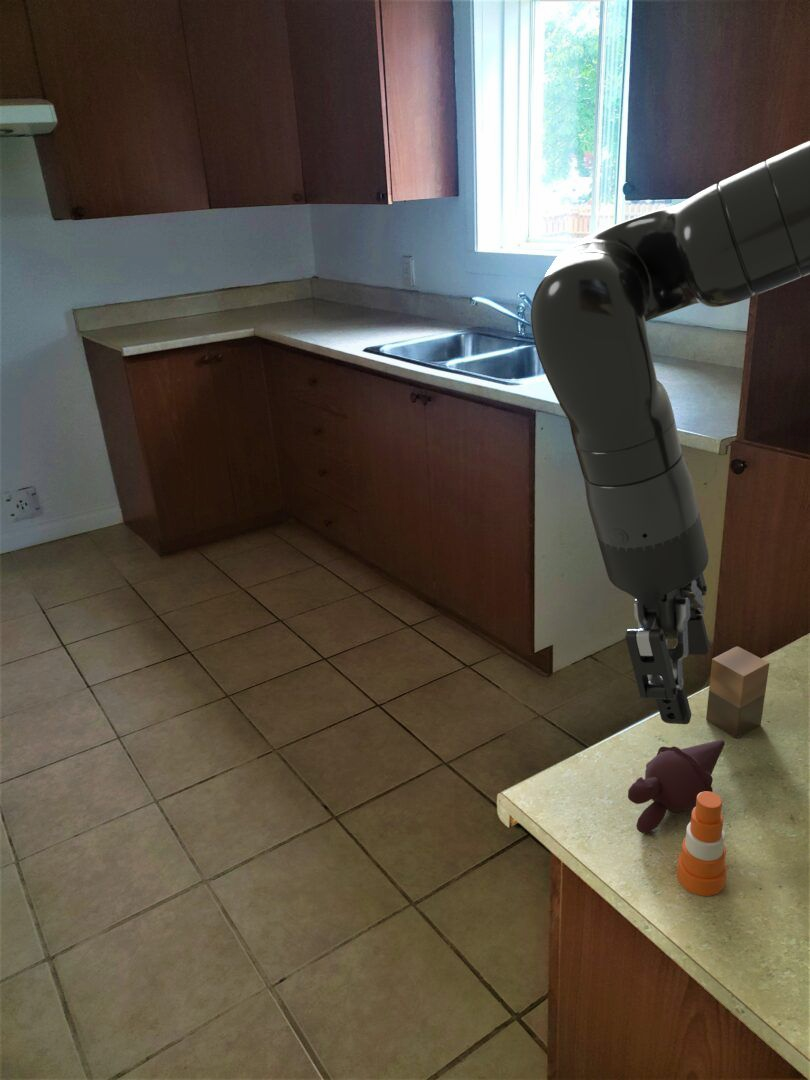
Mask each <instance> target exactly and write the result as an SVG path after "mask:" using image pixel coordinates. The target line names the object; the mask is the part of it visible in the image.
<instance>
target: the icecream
mask: <svg viewBox="0 0 810 1080" xmlns="http://www.w3.org/2000/svg"><path fill="white" fill-rule="evenodd" d="M725 745H726V741H725V740H724V739H717V740H714V741H710V742H706V743H701V744H697V745H693V746H689V747H685V748H680V747H677V746H674V745H673V746H671V747H668V746H661V747H659V749H658V751H657V753H656V755H655V756H654V757H653V758H652V759H651V760H650V761H648V762H647V763H646V764H645V772H644V773H645V774H644V778H643V777H642V776H640V777H638V778H637V779H636V780H635V782H634V783H632V785H631V786H630V787H629V788H628V791H627V799H628V800H629V801H630V802H631V803H633V804H635V805H641V804H645V803H647V802H649V801H651V800H652V801H653V802H652V803H650V804H649V805H648V806H647V807H646V808H645V809H643V811H642V812H641V814H640V815H639V817H638V819H637V822H636V830H637V831H638V832H639V833H641V834H648V833H650V832H652V831H653V830H655V829H656V828H658V827H659V825H660V824H661V822H662V821H663V819H664V818H665V815H666V813H667V811H670V812H674V813H679V812H685V811H688V810H690V809H694V808H695V807H696V800H697V795H698V794H699V793H701V792H704V791H709V792H713V791H714V790H713V787H712V785H713V781H714V779H713V776H712V774H713V771H714V770H715V768H716V765H717V764H718V761H719V758H720V756H721V754H722V752H723V749H724V747H725ZM713 793H714V792H713Z"/></svg>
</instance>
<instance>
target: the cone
mask: <svg viewBox="0 0 810 1080" xmlns="http://www.w3.org/2000/svg"><path fill="white" fill-rule="evenodd" d="M722 806H723V799H722V797H720V795H719V794H717V793H716V792H709V791H704V792H701V793H699V794H698V795H697V800H696V806H695V807H693V808H692V810H691V817H690V821H689V823H688V824H687V826H686V833H685V837H684V838H683V840H682V844H681V851H680V852H679V854H678V857H677V867H676V868H677V869H676V876H677V879H678V882H679V883H680V885H681V886H682V887H683V888H684V889H686V890H687V891H689V892H690V893H692V894H694V895H698V896H703V897H711V896H716V895H718V894H719V893H720V892H722V891H723V889H724V888H725V886H726V885H725V884H726V876H727V870H728V869H727V868H728V867H727V862H726V855H727V854H726V853H727V851H726V850H727V849H726V847H725V840H726V834H725V830H724V829H723V827H724V815H723V813H722V808H723V807H722Z"/></svg>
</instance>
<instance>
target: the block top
mask: <svg viewBox="0 0 810 1080" xmlns="http://www.w3.org/2000/svg"><path fill="white" fill-rule="evenodd" d="M769 670H770V662H769V661H767V660H765V659H763V658H761V657H759V656H757V655H756V654H754V653H752V652H749V651H748V650H746V649H744V648H742V647H741V646H738V645H737V646H735V647H733V648H731V649H729V650H727V651H725V652H723V653H721V654H719V655H717V656H715V657H713V658H711V667H710V676H709V685H708V686H709V687H708V691H709V690H710V691H712V692H713V693H715V694H717V695H719V696H720V697H722V698H724V699H725V700H727V701H729V702H731V703H732V704H734V705H736V706H737V707H739V708H741V707H743V706H745V705H747V704H748V703H750V702H752V701H754V700H756V699H757V698H759V697H761V696H763V695H764V694H765V695H766V690H767V685H768V677H769Z"/></svg>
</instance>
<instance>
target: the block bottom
mask: <svg viewBox="0 0 810 1080" xmlns="http://www.w3.org/2000/svg"><path fill="white" fill-rule="evenodd" d="M765 696H766V693H765V694H764V695H763V696H761V697H759V698H757V699H756V700H754V701H752V702H750V703H748V704H747V705H745V706H743V707H741V708H739V707H737V706H736V705H734V704H732V703H731V702H729V701H727V700H725V699H724V698H722V697H720V696H719V695H717V694H715V693H713V692H712V691H710V690H709V689H708V696H707V706H706V716H705V720H706V721H708V723H710V724H712V725H713V726H714V727H717V728H718V729H720V730H721V731H723V732H725V733H726V734H727V735H729V736H731V737H733V738H734V739H738V738H741V737H742V736H743V735H746V734H747V733H748V732H750V731H753V730H754V729H756V728H758V727H759V726H760V725H762V718H763V711H764V706H765V705H764V704H765V698H766V697H765Z"/></svg>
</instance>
